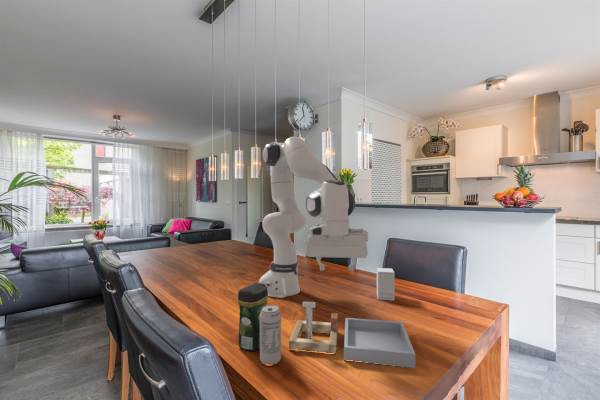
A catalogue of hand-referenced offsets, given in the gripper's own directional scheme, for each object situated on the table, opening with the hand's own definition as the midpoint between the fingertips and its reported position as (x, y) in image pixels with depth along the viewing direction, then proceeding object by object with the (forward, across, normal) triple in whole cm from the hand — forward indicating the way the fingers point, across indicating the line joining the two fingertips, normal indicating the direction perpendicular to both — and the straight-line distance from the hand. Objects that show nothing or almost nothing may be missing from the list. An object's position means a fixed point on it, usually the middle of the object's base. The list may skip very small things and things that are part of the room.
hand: (336, 270), depth 91 cm
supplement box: (+22, -21, -39) cm, 49 cm away
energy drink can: (+22, +18, +17) cm, 33 cm away
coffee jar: (+22, +26, +8) cm, 35 cm away
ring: (+22, +7, +4) cm, 23 cm away
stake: (+22, +9, +6) cm, 24 cm away
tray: (+22, -12, +4) cm, 25 cm away
